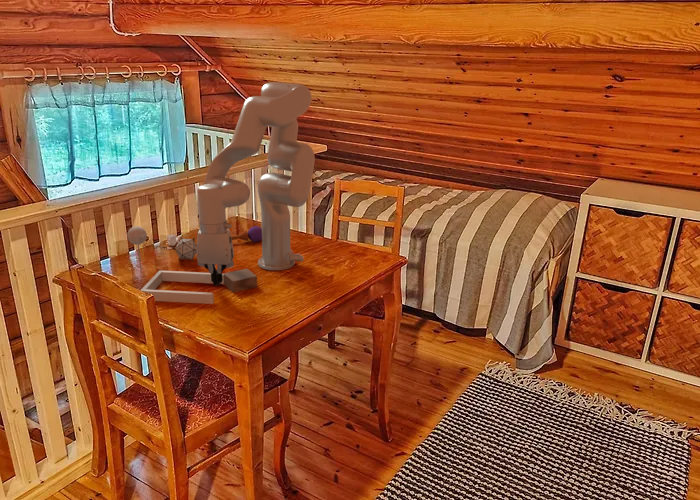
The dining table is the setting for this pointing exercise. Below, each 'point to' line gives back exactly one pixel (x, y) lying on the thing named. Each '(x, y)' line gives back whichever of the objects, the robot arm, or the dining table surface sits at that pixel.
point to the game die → (186, 248)
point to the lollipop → (137, 237)
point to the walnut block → (240, 280)
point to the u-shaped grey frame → (180, 295)
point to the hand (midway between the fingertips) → (217, 283)
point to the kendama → (250, 234)
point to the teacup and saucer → (172, 240)
